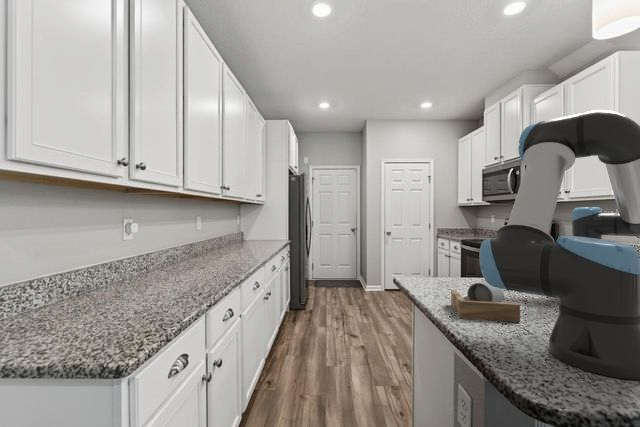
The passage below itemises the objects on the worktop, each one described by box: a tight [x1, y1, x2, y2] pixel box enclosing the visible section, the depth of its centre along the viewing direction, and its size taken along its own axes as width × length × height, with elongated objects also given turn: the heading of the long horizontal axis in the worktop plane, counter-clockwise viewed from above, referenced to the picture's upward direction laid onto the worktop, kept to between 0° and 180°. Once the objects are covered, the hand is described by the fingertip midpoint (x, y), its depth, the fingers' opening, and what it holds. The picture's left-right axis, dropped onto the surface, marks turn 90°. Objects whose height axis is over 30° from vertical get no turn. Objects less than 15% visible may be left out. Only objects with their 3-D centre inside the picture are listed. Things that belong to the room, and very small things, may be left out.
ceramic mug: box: [462, 281, 505, 302], centre depth 92 cm, size 11×8×8 cm
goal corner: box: [450, 289, 521, 323], centre depth 88 cm, size 16×15×4 cm
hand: (517, 254), depth 94 cm, fingers open, 13 cm apart
